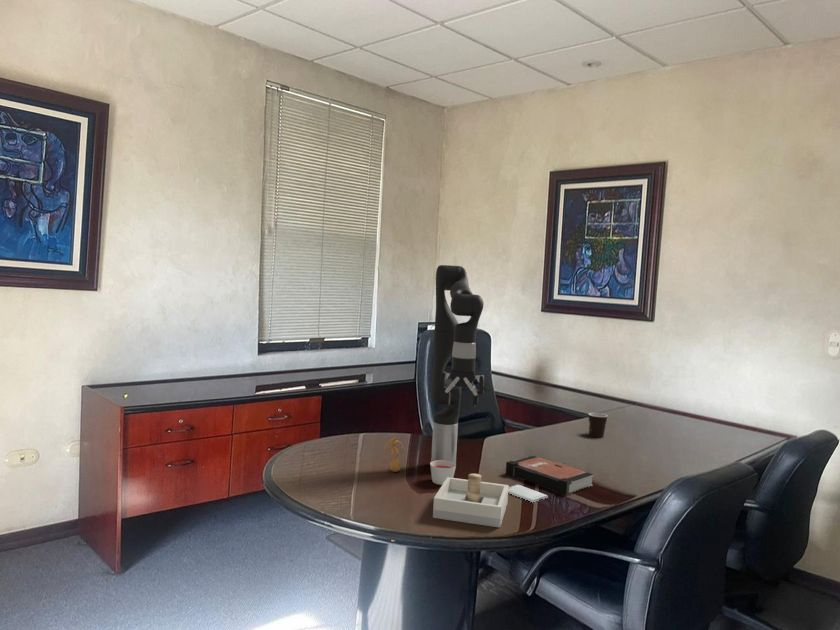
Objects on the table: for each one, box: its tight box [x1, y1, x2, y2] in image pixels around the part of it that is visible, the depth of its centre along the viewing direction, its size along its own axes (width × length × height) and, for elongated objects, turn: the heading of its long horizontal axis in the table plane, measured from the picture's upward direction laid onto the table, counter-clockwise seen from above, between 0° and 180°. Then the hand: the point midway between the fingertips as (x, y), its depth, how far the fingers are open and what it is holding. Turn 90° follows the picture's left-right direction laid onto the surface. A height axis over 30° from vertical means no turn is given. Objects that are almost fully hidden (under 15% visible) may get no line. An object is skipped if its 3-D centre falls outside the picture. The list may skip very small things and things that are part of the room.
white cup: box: [429, 460, 457, 486], centre depth 218 cm, size 9×9×6 cm
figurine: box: [383, 437, 406, 473], centre depth 227 cm, size 8×6×12 cm
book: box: [505, 455, 595, 496], centre depth 226 cm, size 26×18×5 cm
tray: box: [432, 477, 510, 528], centre depth 193 cm, size 20×20×6 cm
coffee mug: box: [587, 412, 608, 439], centre depth 294 cm, size 12×9×10 cm
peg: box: [467, 473, 482, 503], centre depth 196 cm, size 4×4×10 cm
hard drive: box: [508, 484, 549, 504], centre depth 209 cm, size 2×8×12 cm
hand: (461, 405), depth 203 cm, fingers open, 8 cm apart
